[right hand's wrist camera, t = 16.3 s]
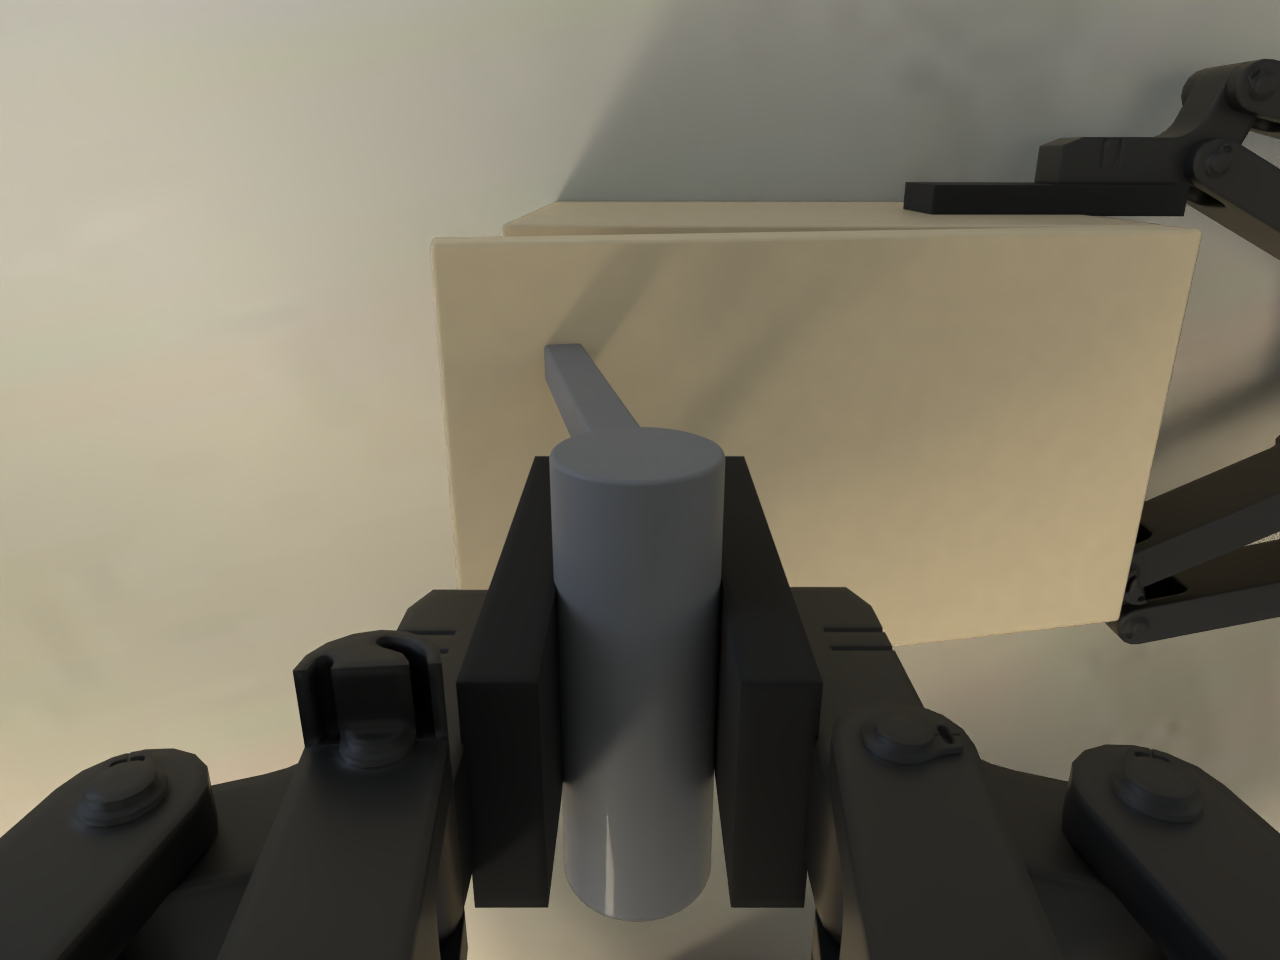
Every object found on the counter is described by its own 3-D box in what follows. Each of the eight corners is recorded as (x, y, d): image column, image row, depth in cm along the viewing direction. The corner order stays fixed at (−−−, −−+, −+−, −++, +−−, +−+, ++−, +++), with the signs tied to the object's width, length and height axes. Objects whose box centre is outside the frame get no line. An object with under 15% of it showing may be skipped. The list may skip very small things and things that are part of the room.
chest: (562, 455, 33) (521, 595, 22) (553, 201, 30) (501, 224, 19) (948, 456, 33) (1090, 597, 22) (982, 201, 29) (1165, 225, 19)
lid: (465, 667, 19) (478, 1053, 11) (430, 237, 16) (411, 321, 8) (1086, 598, 22) (1469, 863, 14) (1161, 225, 19) (1716, 276, 11)
